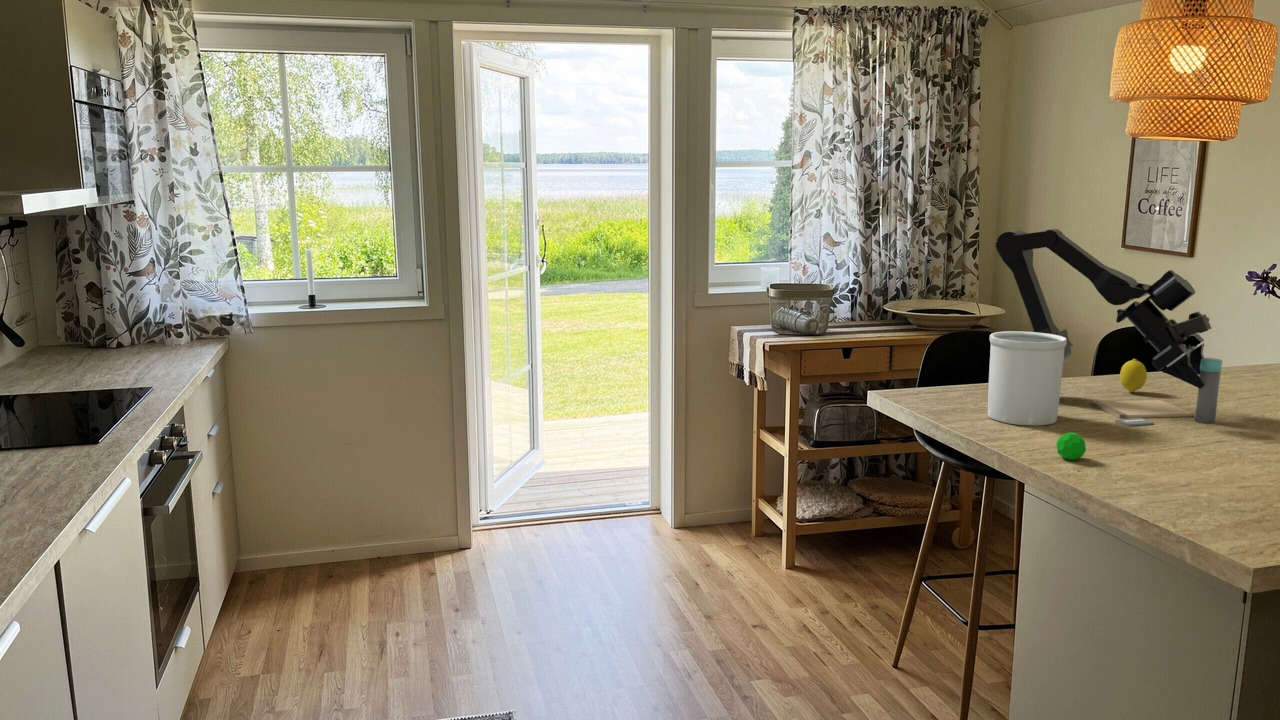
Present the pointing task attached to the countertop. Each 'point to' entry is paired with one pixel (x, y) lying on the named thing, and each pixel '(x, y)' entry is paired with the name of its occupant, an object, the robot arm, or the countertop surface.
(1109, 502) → the countertop surface
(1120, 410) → the notepad
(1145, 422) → the word tile
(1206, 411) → the marker
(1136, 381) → the lemon
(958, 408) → the countertop surface
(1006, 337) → the utensil holder
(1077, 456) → the polyhedron
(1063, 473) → the countertop surface
